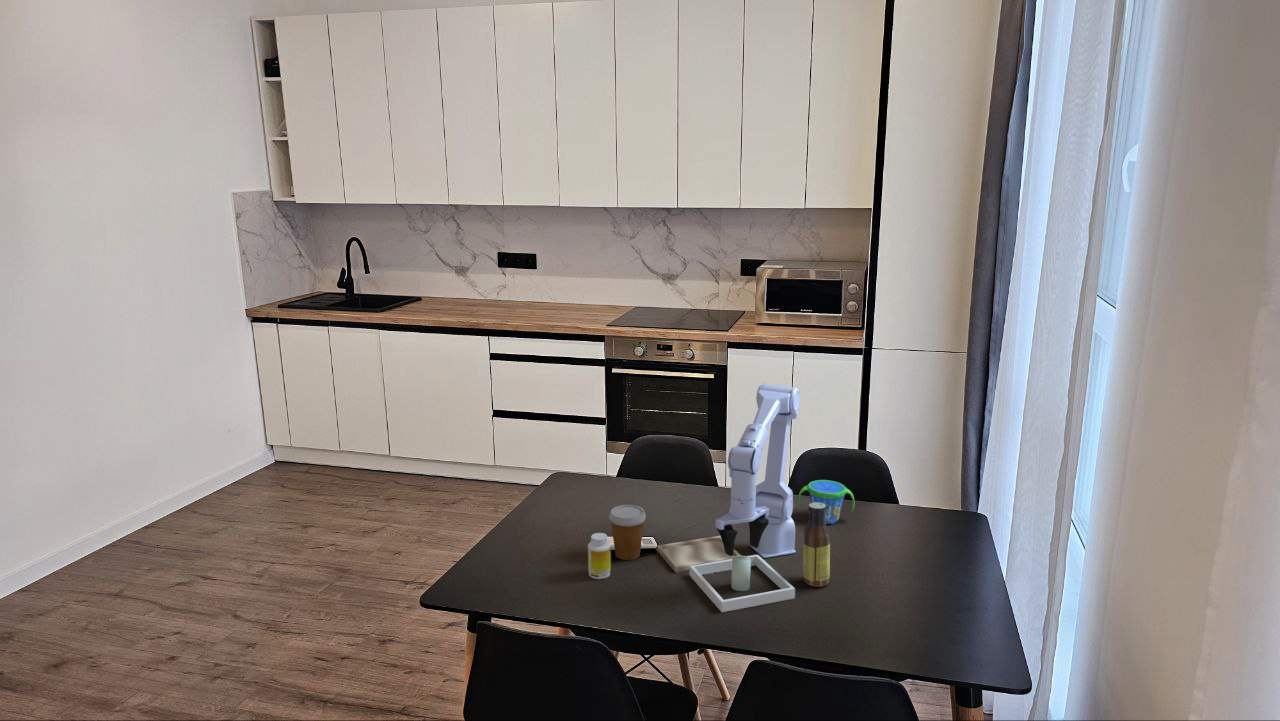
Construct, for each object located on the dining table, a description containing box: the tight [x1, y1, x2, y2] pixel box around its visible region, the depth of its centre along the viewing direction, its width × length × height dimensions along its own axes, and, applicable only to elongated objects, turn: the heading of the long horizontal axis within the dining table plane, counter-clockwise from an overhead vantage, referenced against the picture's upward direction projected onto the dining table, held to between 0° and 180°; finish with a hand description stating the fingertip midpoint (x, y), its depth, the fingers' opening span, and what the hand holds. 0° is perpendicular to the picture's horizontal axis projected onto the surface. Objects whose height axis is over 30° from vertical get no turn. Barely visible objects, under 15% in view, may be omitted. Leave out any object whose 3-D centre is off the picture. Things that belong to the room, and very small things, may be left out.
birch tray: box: [656, 535, 742, 574], centre depth 214 cm, size 18×13×2 cm
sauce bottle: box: [802, 502, 831, 588], centre depth 198 cm, size 6×6×20 cm
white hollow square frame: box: [689, 554, 796, 613], centre depth 198 cm, size 19×19×2 cm
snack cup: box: [797, 479, 856, 525], centre depth 235 cm, size 16×10×10 cm
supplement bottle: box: [587, 532, 612, 580], centre depth 203 cm, size 6×6×10 cm
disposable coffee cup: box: [608, 504, 647, 561], centre depth 213 cm, size 10×10×12 cm
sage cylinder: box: [731, 555, 752, 592], centre depth 198 cm, size 4×4×7 cm
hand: (741, 550), depth 196 cm, fingers open, 7 cm apart
